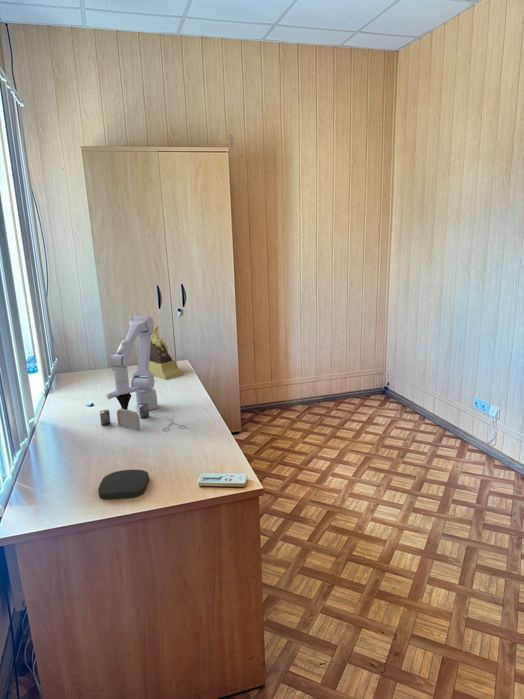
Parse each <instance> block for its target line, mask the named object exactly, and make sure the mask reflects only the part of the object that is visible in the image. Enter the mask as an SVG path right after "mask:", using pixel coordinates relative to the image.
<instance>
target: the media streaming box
mask: <svg viewBox="0 0 524 699" xmlns="http://www.w3.org/2000/svg"><path fill="white" fill-rule="evenodd" d="M149 478H150V477H149V472H148V471H146V470H144V469H125V470H124V469H123V470H117V471H113V472H111V473H109V474H107V475H104V477H103V478H102V479H101V481H100V483H99V486H98V489H97V491H98V497H99V499H101V500H107V501H109V500H121V499H130V498H131V499H134V498H138V497H140V496H143V495H144V494H145V492H146V490H147V487H148V486H149V485H148V484H149V480H150V479H149Z"/></svg>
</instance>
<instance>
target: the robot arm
mask: <svg viewBox="0 0 524 699" xmlns="http://www.w3.org/2000/svg"><path fill="white" fill-rule="evenodd" d="M128 326H129V330H128V333H127V334H126V336H125V337H126V338H125V340H122V341H121V342H120V344H119V346H118V348H117V350H116V352H115V353H114V354H113V355H111V357H110V359H109V360H110V361H109V365H110V367H111V369H112V371H113V374H114V375H113V376H114V384H115V390H113V391H111V392H109V393H106V399H107V400H112V399H113V398H116V400H117V401H118V402H119V404H120V407H121V408H122V409H126V410H129V409H128V407H129V403H130V400H131V398H132V394H131V393H134V392H135V397H136V398H135V400H136V405H135V406H134V407H135V409H136V412H137V413H138V412H139V413H140V410H139V405H140V404H143V403H147V404H148V408H149V411H151V410H157V409H159V407H158V405H159V404H158V397H157V396H158V395H157V392H156V391H157V390H156V388H154V387H155V379H154V378H155V377H154V375H153V374H152V373H151V372H150V371H149V359H150V346H151V340H152V338H151V335H152V334H153V331H154V326H155V321H154V319H153V317H152V316H134V315H133V316H130V319H129V322H128ZM138 337H139V348H138V359H137V360H138V361H137V370H136V371H134V372H133V373H132V377H131V380H130V381H129V372H128V371H129V370H128V366H129V365H130V360H131V354H132V353H133V350H134V347H135V346H134V342H135V340H136V339H137V338H138ZM130 386H131V387H130Z"/></svg>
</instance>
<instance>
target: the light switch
mask: <svg viewBox="0 0 524 699" xmlns="http://www.w3.org/2000/svg"><path fill="white" fill-rule="evenodd" d="M116 416H117V419H116V420H117V426H118V427H123V428H127V429H131V430H134V431H137V432H138V431H141V424H140V423H141V422H140V414H139V413H138V411H135V410H130V409H127V410H126V409H122V407H121V408H119V409H118V410H117V411H116Z"/></svg>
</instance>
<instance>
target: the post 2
mask: <svg viewBox="0 0 524 699" xmlns="http://www.w3.org/2000/svg"><path fill="white" fill-rule="evenodd" d="M139 410H140V412H139V419H141V420H145V419H146V420H147V419H148V418H149V419H150V410H149V408H148V404H147V403H143V404H140V405H139Z"/></svg>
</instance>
